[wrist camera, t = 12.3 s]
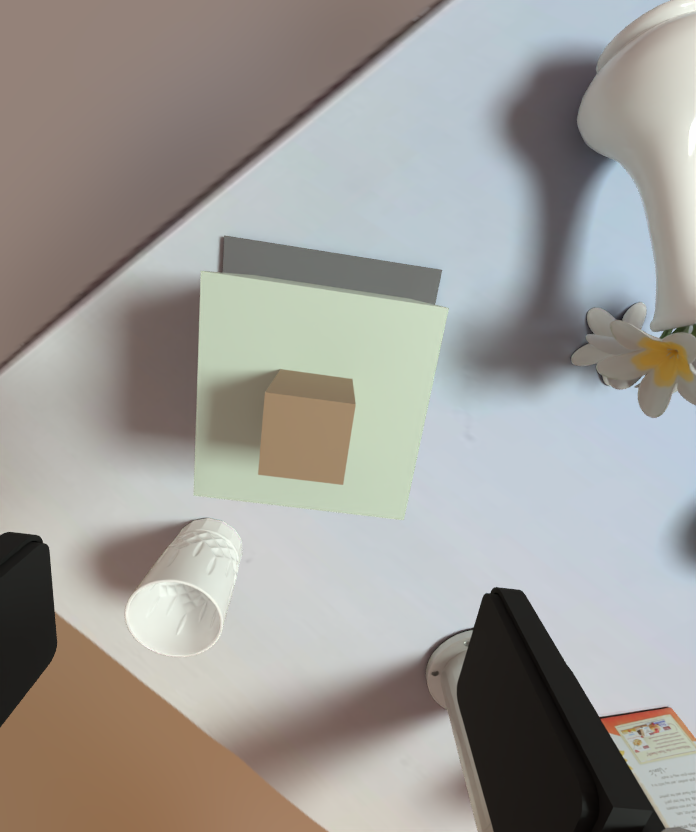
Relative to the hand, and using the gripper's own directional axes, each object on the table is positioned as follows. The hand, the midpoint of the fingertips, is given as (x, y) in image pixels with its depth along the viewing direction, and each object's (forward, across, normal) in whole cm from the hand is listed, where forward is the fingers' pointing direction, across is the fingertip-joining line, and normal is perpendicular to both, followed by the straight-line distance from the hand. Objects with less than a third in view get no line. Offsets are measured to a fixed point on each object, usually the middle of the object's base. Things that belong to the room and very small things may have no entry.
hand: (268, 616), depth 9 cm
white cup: (+30, +9, +20) cm, 38 cm away
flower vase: (+30, -23, -14) cm, 40 cm away
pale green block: (+29, 0, 0) cm, 29 cm away
